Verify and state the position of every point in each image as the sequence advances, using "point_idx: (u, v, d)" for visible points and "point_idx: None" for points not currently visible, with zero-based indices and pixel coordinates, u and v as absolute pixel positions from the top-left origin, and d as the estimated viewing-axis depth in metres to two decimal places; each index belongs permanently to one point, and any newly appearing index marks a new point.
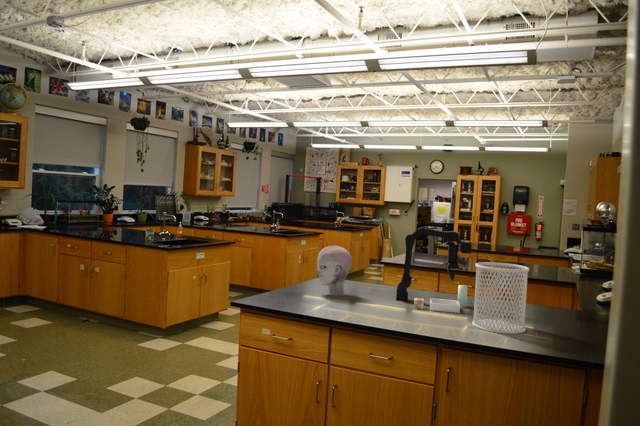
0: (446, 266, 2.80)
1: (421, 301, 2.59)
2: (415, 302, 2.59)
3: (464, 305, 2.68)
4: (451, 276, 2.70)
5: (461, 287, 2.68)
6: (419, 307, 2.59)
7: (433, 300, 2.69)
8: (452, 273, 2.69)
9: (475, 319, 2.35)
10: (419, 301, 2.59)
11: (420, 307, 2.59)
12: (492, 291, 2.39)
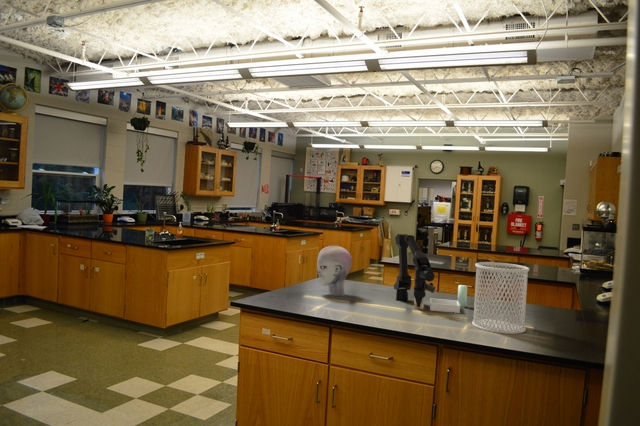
0: None
1: (421, 301, 2.59)
2: (415, 302, 2.59)
3: (464, 305, 2.68)
4: (417, 302, 2.58)
5: (461, 287, 2.68)
6: (419, 307, 2.59)
7: (433, 300, 2.69)
8: (418, 299, 2.58)
9: (475, 319, 2.35)
10: None
11: (420, 307, 2.59)
12: (492, 291, 2.39)
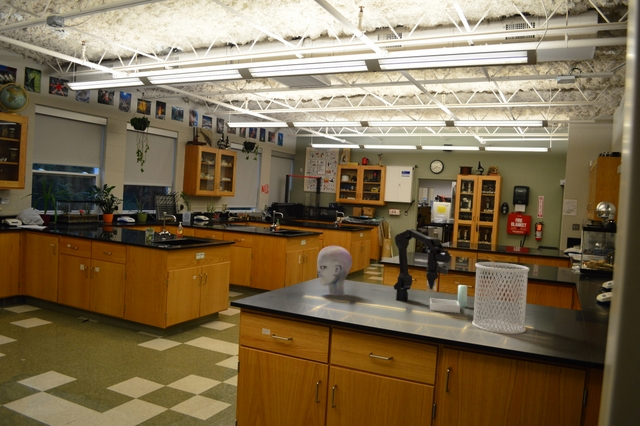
0: None
1: None
2: (428, 284, 2.59)
3: (464, 305, 2.68)
4: (430, 284, 2.58)
5: (461, 287, 2.68)
6: (432, 289, 2.59)
7: (433, 300, 2.69)
8: (431, 281, 2.58)
9: (475, 319, 2.35)
10: None
11: (433, 289, 2.59)
12: (492, 291, 2.39)
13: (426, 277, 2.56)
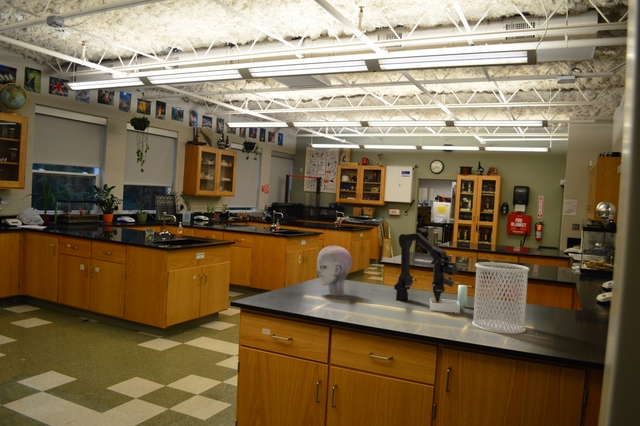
0: (432, 286, 2.68)
1: (439, 300, 2.60)
2: (433, 301, 2.60)
3: (464, 305, 2.68)
4: (436, 297, 2.57)
5: (461, 287, 2.68)
6: None
7: None
8: (437, 294, 2.56)
9: (475, 319, 2.35)
10: None
11: None
12: (492, 291, 2.39)
13: None
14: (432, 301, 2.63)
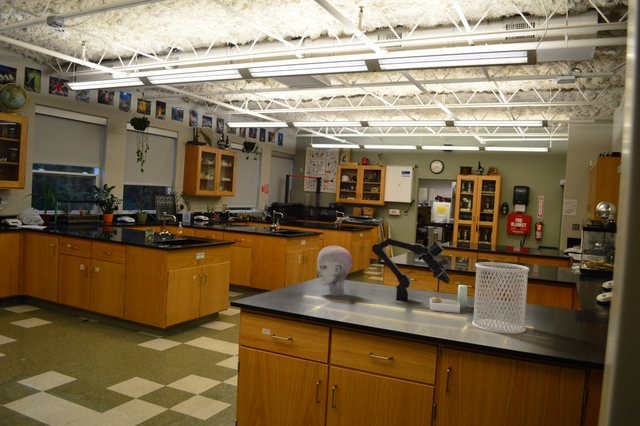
0: None
1: (439, 300, 2.60)
2: (433, 301, 2.60)
3: (464, 305, 2.68)
4: (444, 280, 2.68)
5: (461, 287, 2.68)
6: None
7: None
8: (443, 278, 2.68)
9: (475, 319, 2.35)
10: (437, 300, 2.60)
11: None
12: (492, 291, 2.39)
13: None
14: (432, 301, 2.63)
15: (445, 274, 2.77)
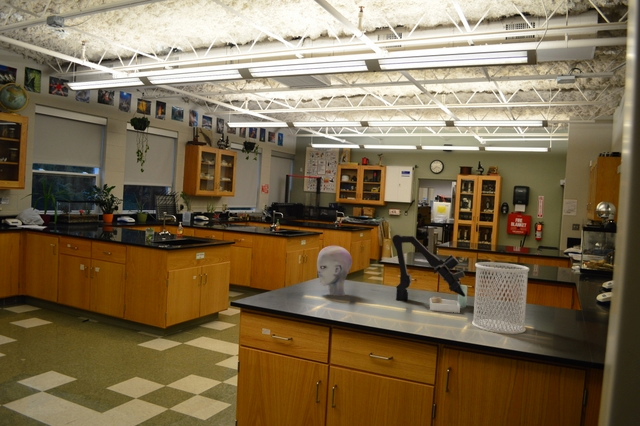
0: None
1: (439, 300, 2.60)
2: (433, 301, 2.60)
3: (464, 305, 2.68)
4: (461, 293, 2.67)
5: (461, 287, 2.68)
6: None
7: None
8: (459, 290, 2.67)
9: (475, 319, 2.35)
10: (437, 300, 2.60)
11: None
12: (492, 291, 2.39)
13: None
14: (432, 301, 2.63)
15: None
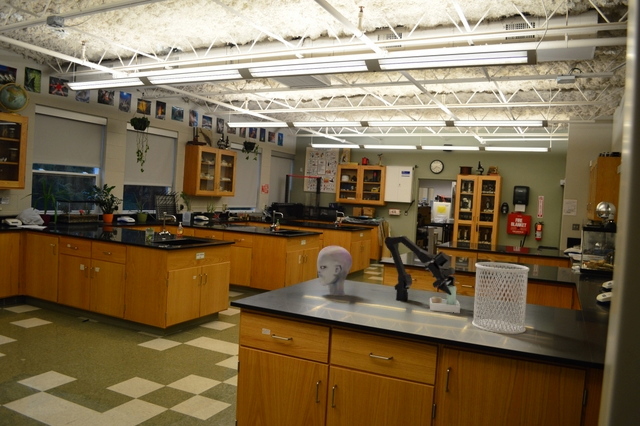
0: None
1: (439, 300, 2.60)
2: (433, 301, 2.60)
3: None
4: (446, 291, 2.58)
5: None
6: None
7: None
8: (445, 288, 2.58)
9: (475, 319, 2.35)
10: (437, 300, 2.60)
11: None
12: (492, 291, 2.39)
13: (437, 288, 2.59)
14: (432, 301, 2.63)
15: (452, 285, 2.64)
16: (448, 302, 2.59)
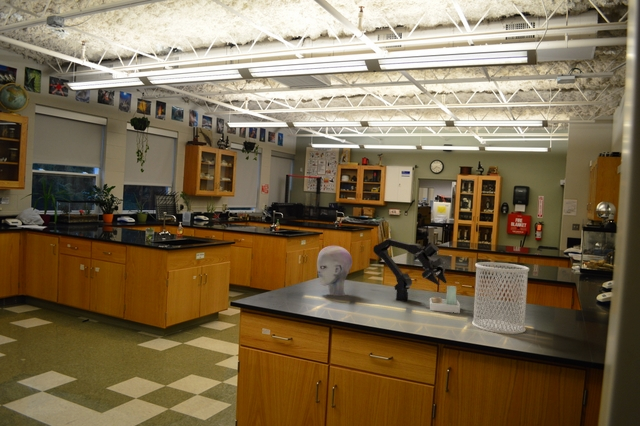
0: (436, 276, 2.72)
1: (439, 300, 2.60)
2: (433, 301, 2.60)
3: None
4: (434, 282, 2.61)
5: (448, 288, 2.59)
6: None
7: None
8: (433, 278, 2.61)
9: (475, 319, 2.35)
10: (437, 300, 2.60)
11: None
12: (492, 291, 2.39)
13: (425, 278, 2.63)
14: (432, 301, 2.63)
15: (442, 276, 2.69)
16: (448, 302, 2.59)
